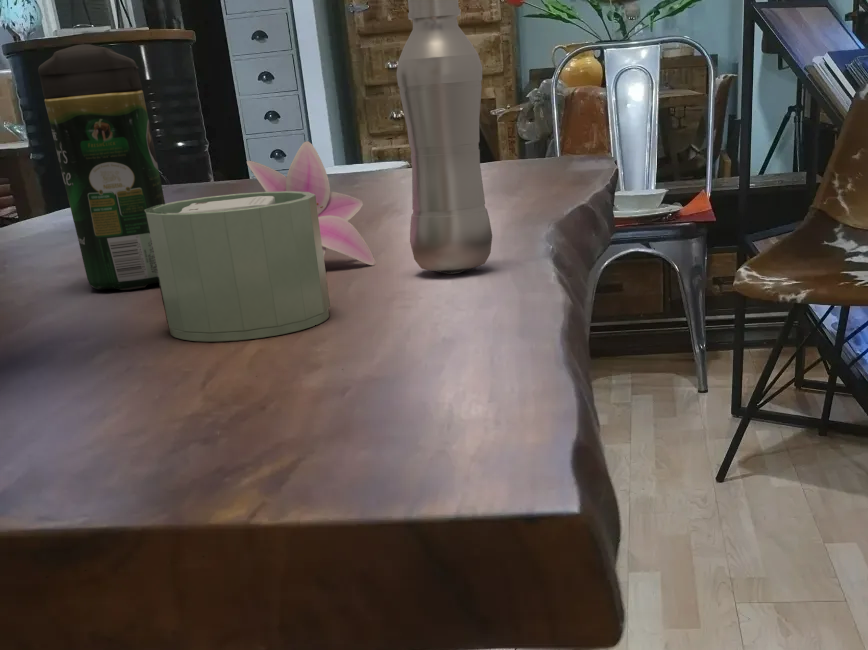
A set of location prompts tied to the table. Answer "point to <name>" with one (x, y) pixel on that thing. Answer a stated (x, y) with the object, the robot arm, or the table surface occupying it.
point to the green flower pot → (240, 267)
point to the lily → (319, 201)
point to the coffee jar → (105, 161)
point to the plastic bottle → (444, 140)
